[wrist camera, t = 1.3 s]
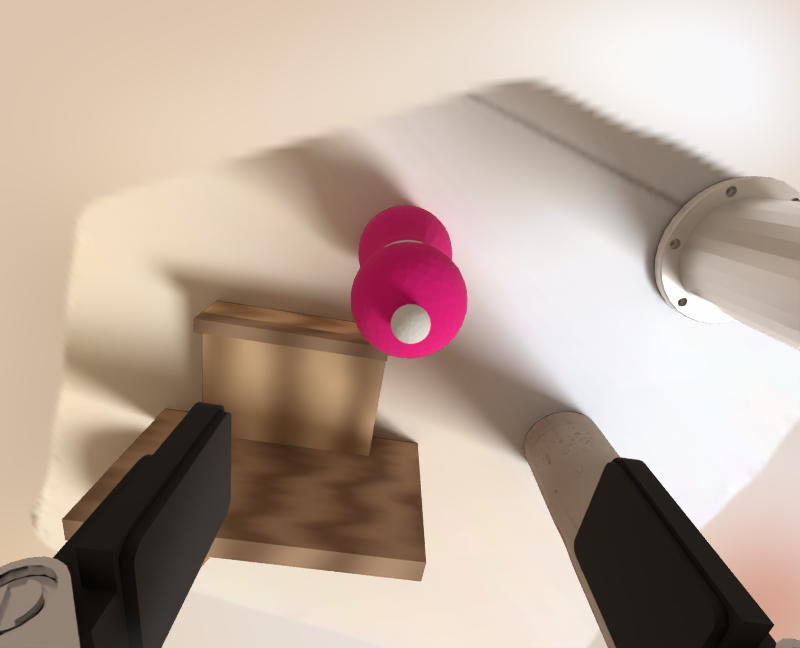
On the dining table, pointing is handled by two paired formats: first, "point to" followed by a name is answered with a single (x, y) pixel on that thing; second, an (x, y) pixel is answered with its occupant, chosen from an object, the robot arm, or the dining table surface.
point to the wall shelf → (298, 447)
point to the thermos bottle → (569, 478)
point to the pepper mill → (407, 284)
